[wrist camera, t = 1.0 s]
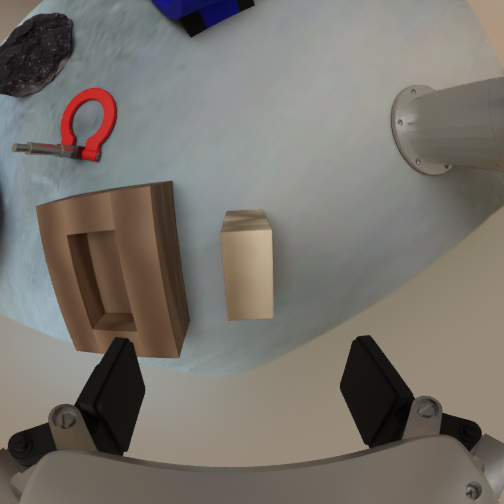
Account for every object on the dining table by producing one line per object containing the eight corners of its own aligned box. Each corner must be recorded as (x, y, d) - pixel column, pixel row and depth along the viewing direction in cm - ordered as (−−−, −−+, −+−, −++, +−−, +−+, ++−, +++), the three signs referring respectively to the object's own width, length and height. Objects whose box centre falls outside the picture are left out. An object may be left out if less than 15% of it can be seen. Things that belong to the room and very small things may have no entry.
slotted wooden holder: (172, 180, 29) (149, 186, 22) (189, 320, 35) (179, 358, 27) (73, 195, 29) (35, 206, 21) (100, 318, 34) (76, 350, 27)
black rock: (92, 14, 21) (59, -16, 11) (62, 91, 24) (14, 72, 14) (36, 35, 21) (2, 17, 11) (10, 105, 24) (-32, 96, 14)
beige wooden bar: (261, 209, 31) (271, 229, 21) (264, 278, 33) (273, 322, 24) (226, 211, 31) (220, 232, 21) (231, 280, 33) (228, 325, 24)
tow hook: (76, 89, 25) (57, 154, 27) (17, 62, 12) (-10, 153, 14) (127, 92, 26) (105, 163, 28) (74, 55, 13) (40, 161, 16)
